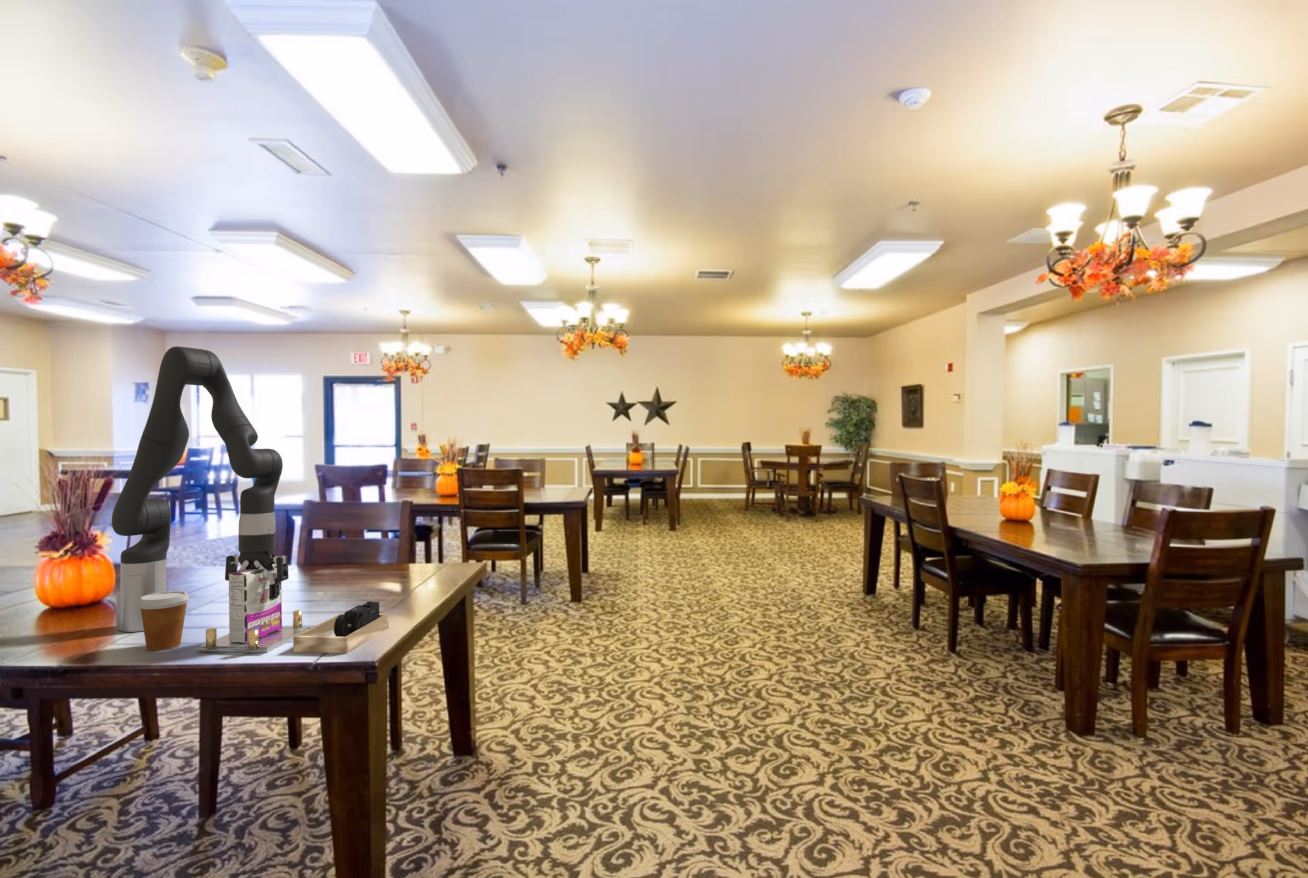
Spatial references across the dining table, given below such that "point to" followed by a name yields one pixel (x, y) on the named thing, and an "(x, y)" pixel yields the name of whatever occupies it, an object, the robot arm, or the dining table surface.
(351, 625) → the camera
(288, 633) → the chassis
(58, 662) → the dining table surface
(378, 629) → the oak frame
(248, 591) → the candy bar box
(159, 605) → the disposable coffee cup
